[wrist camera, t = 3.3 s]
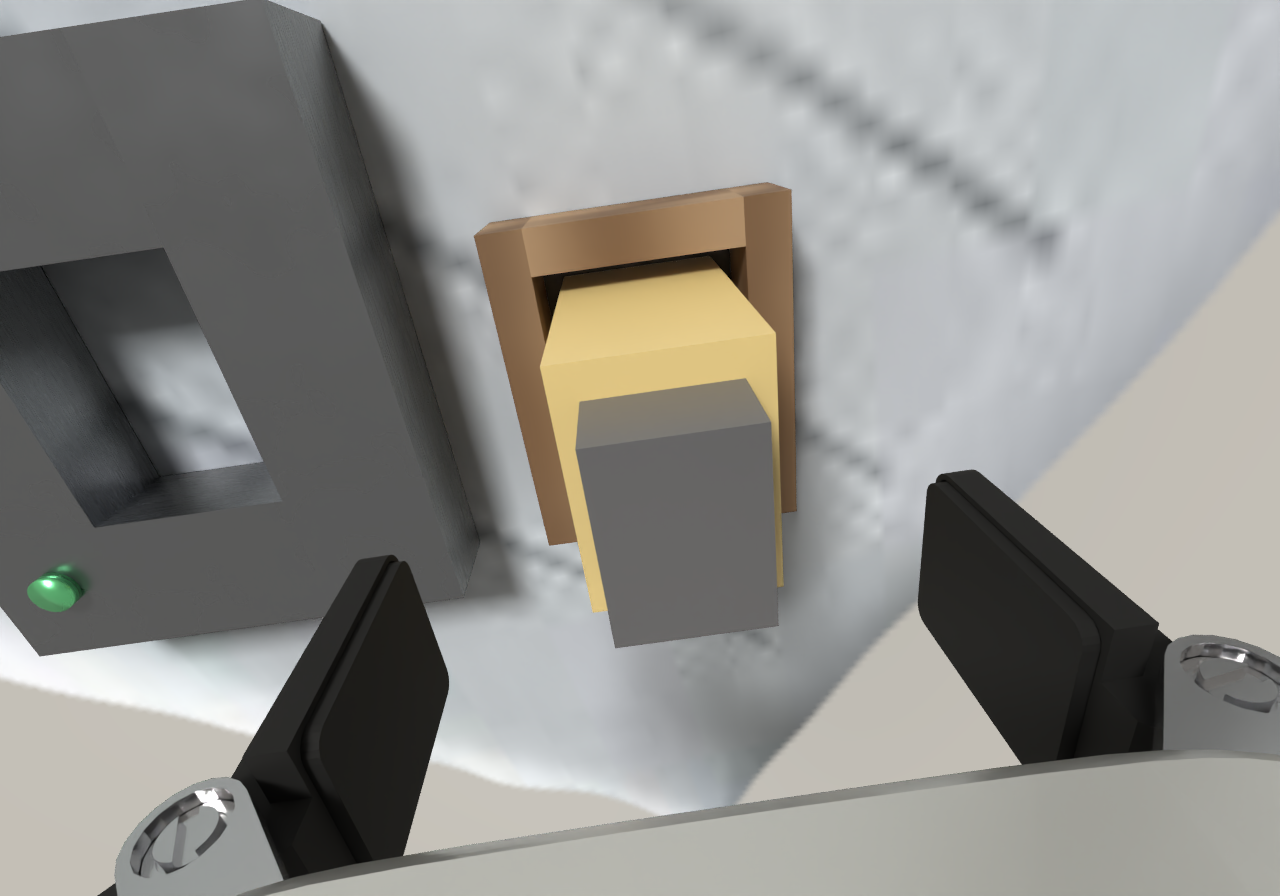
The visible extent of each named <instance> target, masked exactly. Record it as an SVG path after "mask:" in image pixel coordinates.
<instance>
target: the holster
mask: <svg viewBox="0 0 1280 896" xmlns="http://www.w3.org/2000/svg"><path fill="white" fill-rule="evenodd" d="M474 238H475V242H476V247H477V251H478V255H479V259H480V263H481V267H482V271H483V275H484V280H485V284H486V288H487V292H488V296H489V300H490V304H491V308H492V312H493V317H494V321H495V325H496V329H497V333H498V337H499V341H500V345H501V349H502V354H503V358H504V362H505V366H506V370H507V374H508V378H509V382H510V386H511V391H512V395H513V399H514V403H515V407H516V411H517V415H518V419H519V423H520V428H521V432H522V436H523V440H524V444H525V448H526V452H527V456H528V460H529V465H530V469H531V473H532V477H533V481H534V485H535V489H536V493H537V497H538V502H539V506H540V510H541V514H542V518H543V522H544V526H545V530H546V534H547V539H548V543H549V546H550V545H557V544H565V543H572V542H578V541H577V536H576V532H575V527H574V522H573V518H572V513H571V509H570V504H569V499H568V495H567V490H566V485H565V481H564V476H563V471H562V467H561V462H560V458H559V453H558V448H557V444H556V439H555V434H554V430H553V425H552V421H551V416H550V411H549V407H548V402H547V397H546V393H545V388H544V384H543V379H542V374H541V370H540V364H541V361H542V357H543V353H544V349H545V346H546V342H547V338H548V334H549V331H550V327H551V323H552V317H551V312H550V307H549V302H548V297H547V292H546V287H545V282H544V277H543V275H550V274H557V273H564V272H571V271H578V270H585V269H592V268H599V267H606V266H613V265H620V264H627V263H633V262H640V261H647V260H654V259H661V258H668V257H675V256H682V255H689V254H696V253H703V252H710V251H717V250H723V249H729V250H730V266H731V281H732V282H733V284H734V285H735V286H736V287H737V288H738V289H739V291H740V292H741V293H742V294H743V295H744V296H745V298H746V299H747V300H748V301H749V302H750V303H751V305H752V306H753V307H754V308H755V309H756V310H757V312H758V313H759V314H760V315H761V316H762V317H763V319H764V320H765V321H766V322H767V323H768V324H769V326H770V327H771V328H772V329H773V330H774V331H775V333H776V352H777V386H778V419H779V453H780V486H781V513H787V512H794V511H797V506H796V444H795V383H794V321H793V260H792V198H791V189H787V188H784V187H781V186H778V185H775V184H771V183H768V182H766V183H759V184H752V185H746V186H739V187H732V188H725V189H718V190H711V191H704V192H697V193H691V194H684V195H677V196H670V197H663V198H656V199H649V200H643V201H636V202H629V203H622V204H615V205H608V206H601V207H594V208H588V209H581V210H574V211H567V212H560V213H553V214H546V215H539V216H533V217H526V218H519V219H512V220H505V221H498V222H491V223H489V224H488V225H487V226H485V227H484V228H483V229H482V230H480V231H479V232H478V233H477V234H476V235H474Z"/></svg>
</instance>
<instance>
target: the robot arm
mask: <svg viewBox="0 0 1280 896" xmlns="http://www.w3.org/2000/svg"><path fill="white" fill-rule="evenodd" d="M918 608H919V613H920V616H921V618H922V620H923V622H924V624H925V625H926V627H927V628H928V630H929V631H930V633H931V634H932V635H933V637H934V638H935V640H936V641H937V643H938V644H939V646H940V647H941V649H942V650H943V651H944V653H945V654H946V656H947V657H948V659H949V660H950V661H951V663H952V664H953V666H954V667H955V669H956V670H957V672H958V673H959V674H960V676H961V677H962V679H963V680H964V682H965V683H966V685H967V686H968V688H969V689H970V690H971V692H972V693H973V695H974V696H975V697H976V699H977V700H978V702H979V703H980V705H981V706H982V708H983V709H984V711H985V712H986V713H987V715H988V716H989V718H990V719H991V721H992V722H993V724H994V725H995V726H996V728H997V729H998V731H999V732H1000V734H1001V735H1002V736H1003V738H1004V739H1005V741H1006V742H1007V743H1008V745H1009V747H1010V748H1011V749H1012V751H1013V752H1014V754H1015V755H1016V757H1017V758H1018V760H1019V761H1020V763H1021V764H1022V765H1017V766H1009V767H1000V768H993V769H986V770H979V771H971V772H964V773H958V774H950V775H943V776H936V777H929V778H922V779H914V780H907V781H900V782H893V783H886V784H878V785H871V786H864V787H857V788H850V789H844V790H836V791H829V792H822V793H815V794H809V795H801V796H794V797H787V798H780V799H773V800H767V801H760V802H753V803H746V804H739V805H732V806H725V807H718V808H712V809H705V810H698V811H691V812H684V813H678V814H671V815H664V816H657V817H650V818H644V819H637V820H630V821H623V822H617V823H611V824H604V825H597V826H591V827H584V828H578V829H571V830H564V831H558V832H551V833H545V834H538V835H532V836H525V837H518V838H512V839H505V840H498V841H492V842H485V843H479V844H472V845H466V846H460V847H454V848H448V849H442V850H435V851H430V852H424V853H418V854H412V855H406V856H403V854H404V850H405V847H406V844H407V840H408V836H409V833H410V829H411V825H412V822H413V818H414V814H415V811H416V807H417V804H418V800H419V796H420V793H421V789H422V785H423V782H424V778H425V775H426V771H427V767H428V764H429V760H430V756H431V753H432V749H433V746H434V742H435V738H436V735H437V731H438V727H439V724H440V720H441V716H442V713H443V709H444V706H445V702H446V698H447V695H448V690H449V676H448V671H447V668H446V665H445V663H444V660H443V657H442V654H441V652H440V649H439V646H438V643H437V641H436V638H435V635H434V632H433V630H432V627H431V624H430V621H429V619H428V616H427V613H426V610H425V607H424V605H423V602H422V599H421V596H420V594H419V591H418V588H417V585H416V583H415V580H414V577H413V574H412V572H411V569H410V567H409V564H408V563H407V562H406V561H400V562H399V561H398V559H397V558H396V556H394V555H385V556H378V557H371V558H364V559H360V560H358V561H357V563H356V564H355V566H354V567H353V569H352V571H351V572H350V574H349V576H348V578H347V579H346V581H345V583H344V584H343V586H342V588H341V589H340V591H339V593H338V595H337V596H336V598H335V600H334V601H333V603H332V605H331V607H330V608H329V610H328V612H327V613H326V615H325V617H324V619H323V620H322V622H321V624H320V625H319V627H318V629H317V630H316V632H315V634H314V636H313V637H312V639H311V641H310V642H309V644H308V646H307V648H306V649H305V651H304V653H303V654H302V656H301V658H300V659H299V661H298V663H297V665H296V666H295V668H294V670H293V671H292V673H291V675H290V677H289V678H288V680H287V682H286V683H285V685H284V687H283V688H282V690H281V692H280V694H279V695H278V697H277V699H276V700H275V702H274V704H273V706H272V707H271V709H270V711H269V712H268V714H267V716H266V718H265V719H264V721H263V723H262V724H261V726H260V728H259V729H258V731H257V733H256V735H255V736H254V738H253V740H252V742H251V743H250V745H249V747H248V748H247V750H246V752H245V753H244V755H243V757H242V760H241V762H240V763H239V765H238V767H237V769H236V771H235V772H234V774H233V775H232V777H231V778H229V777H222V778H211V779H208V780H205V781H202V782H199V783H196V784H193V785H191V786H189V787H187V788H185V789H184V790H182V791H180V792H178V793H176V794H174V795H173V796H171V797H170V798H169V799H167V800H166V801H165V802H163V803H162V804H160V805H159V806H157V807H156V808H155V809H154V810H153V811H152V812H151V813H150V814H149V815H148V816H146V817H145V818H144V819H143V820H142V821H141V822H140V823H139V824H138V825H137V827H136V828H135V829H134V831H133V832H132V833H131V835H130V836H129V837H128V838H127V840H126V841H125V842H124V845H123V847H122V849H121V851H120V853H119V855H118V857H117V859H116V867H115V881H116V883H115V884H113V885H112V886H111V887H109V888H108V889H107V890H105V891H104V892H102V893H101V894H100V895H98V896H1280V657H1278V656H1276V655H1274V654H1272V653H1270V652H1268V651H1266V650H1264V649H1262V648H1260V647H1257V646H1254V645H1251V644H1248V643H1245V642H1242V641H1239V640H1236V639H1231V638H1225V637H1219V636H1215V635H1190V636H1186V637H1181V638H1178V639H1176V640H1175V641H1173V642H1172V641H1171V640H1170V639H1169V638H1168V637H1166V636H1165V635H1164V634H1163V633H1162V632H1161V631H1159V630H1158V626H1159V623H1158V622H1157V621H1156V620H1154V619H1153V618H1152V617H1151V616H1150V615H1149V614H1148V613H1146V612H1145V611H1144V610H1143V609H1142V608H1140V607H1139V606H1138V605H1136V604H1135V603H1134V602H1133V601H1132V600H1131V599H1129V598H1128V597H1127V596H1126V595H1125V594H1124V593H1122V592H1121V591H1120V590H1119V589H1118V588H1117V587H1115V586H1114V585H1113V584H1112V583H1111V582H1109V581H1108V580H1107V579H1106V578H1105V577H1103V576H1102V575H1101V574H1100V573H1098V572H1097V571H1096V570H1095V569H1094V568H1093V567H1091V566H1090V565H1089V564H1088V563H1087V562H1086V561H1084V560H1083V559H1082V558H1081V557H1080V556H1078V555H1077V554H1076V553H1075V552H1073V551H1072V550H1071V549H1070V548H1069V547H1068V546H1066V545H1065V544H1064V543H1063V542H1061V541H1060V540H1059V539H1058V538H1057V537H1056V536H1054V535H1053V534H1052V533H1051V532H1050V531H1049V530H1047V529H1046V528H1045V527H1044V526H1043V525H1041V524H1040V523H1039V522H1038V521H1037V520H1035V519H1034V518H1033V517H1032V516H1031V515H1030V514H1028V513H1027V512H1026V511H1025V510H1024V509H1022V508H1021V507H1020V506H1019V505H1018V504H1016V503H1015V502H1014V501H1013V500H1012V499H1010V498H1009V497H1008V496H1007V495H1006V494H1004V493H1003V492H1002V491H1001V490H1000V489H999V488H997V487H996V486H995V485H994V484H993V483H991V482H990V481H989V480H988V479H987V478H985V477H984V476H983V475H982V474H981V473H979V472H978V471H976V470H965V471H959V472H952V473H945V474H941V475H939V476H938V478H937V479H936V483H932V484H930V485H929V486H928V489H927V496H926V508H925V521H924V533H923V545H922V557H921V569H920V581H919V594H918Z"/></svg>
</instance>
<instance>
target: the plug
mask: <svg viewBox="0 0 1280 896" xmlns="http://www.w3.org/2000/svg"><path fill="white" fill-rule="evenodd" d="M540 370H541V374H542V379H543V384H544V388H545V393H546V397H547V402H548V407H549V411H550V416H551V421H552V425H553V430H554V434H555V439H556V444H557V448H558V453H559V458H560V462H561V467H562V471H563V476H564V481H565V485H566V490H567V495H568V499H569V504H570V509H571V513H572V518H573V522H574V527H575V532H576V536H577V541H578V546H579V550H580V555H581V559H582V564H583V569H584V573H585V578H586V583H587V587H588V592H589V596H590V601H591V606H592V610H593V613H594V612H601V611H608V614H609V619H610V624H611V629H612V634H613V639H614V644H615V648H620V647H628V646H635V645H642V644H650V643H657V642H664V641H672V640H679V639H686V638H694V637H701V636H708V635H715V634H723V633H730V632H737V631H745V630H752V629H759V628H767V627H774V626H779V625H778V597H777V587H783V553H782V520H781V486H780V453H779V419H778V386H777V352H776V333H775V331H774V330H773V329H772V328H771V327H770V326H769V324H768V323H767V322H766V321H765V320H764V319H763V317H762V316H761V315H760V314H759V313H758V312H757V310H756V309H755V308H754V307H753V306H752V305H751V303H750V302H749V301H748V300H747V299H746V298H745V296H744V295H743V294H742V293H741V292H740V291H739V289H738V288H737V287H736V286H735V285H734V284H733V282H732V281H731V280H730V279H729V278H728V277H727V275H726V274H725V273H724V272H723V271H722V270H721V268H720V267H719V266H718V265H717V264H716V263H715V261H714V260H713V259H712V258H711V257H710V256H704V257H697V258H690V259H683V260H676V261H669V262H662V263H655V264H648V265H641V266H634V267H627V268H621V269H614V270H607V271H600V272H593V273H586V274H579V275H572V276H565V277H564V278H563V282H562V286H561V290H560V293H559V297H558V301H557V305H556V308H555V312H554V316H553V320H552V323H551V327H550V331H549V334H548V338H547V342H546V346H545V349H544V353H543V357H542V361H541V364H540Z"/></svg>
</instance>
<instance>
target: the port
mask: <svg viewBox="0 0 1280 896" xmlns="http://www.w3.org/2000/svg"><path fill="white" fill-rule="evenodd" d="M157 248H164V250H165V252H166V254H167V256H168V258H169V260H170V263H171V265H172V267H173V269H174V271H175V273H176V275H177V277H178V280H179V282H180V284H181V286H182V288H183V290H184V292H185V295H186V297H187V299H188V301H189V303H190V305H191V307H192V310H193V312H194V314H195V316H196V318H197V320H198V322H199V324H200V327H201V329H202V331H203V333H204V335H205V337H206V339H207V342H208V344H209V346H210V348H211V350H212V352H213V354H214V356H215V359H216V361H217V363H218V365H219V367H220V369H221V371H222V374H223V376H224V378H225V380H226V382H227V384H228V386H229V388H230V391H231V393H232V395H233V397H234V399H235V401H236V403H237V406H238V408H239V410H240V412H241V414H242V416H243V418H244V420H245V423H246V425H247V427H248V429H249V431H250V433H251V435H252V438H253V440H254V442H255V444H256V446H257V448H258V450H259V453H260V455H261V457H262V459H263V461H264V462H261V463H254V464H247V465H240V466H233V467H226V468H219V469H212V470H205V471H198V472H190V473H183V474H176V475H169V476H162V477H159V476H158V474H157V472H156V470H155V468H154V467H153V465H152V463H151V461H150V460H149V458H148V456H147V454H146V452H145V451H144V449H143V447H142V445H141V444H140V442H139V440H138V438H137V437H136V435H135V433H134V431H133V429H132V428H131V426H130V424H129V422H128V421H127V419H126V417H125V415H124V414H123V412H122V410H121V408H120V406H119V405H118V403H117V401H116V399H115V398H114V396H113V394H112V392H111V391H110V389H109V387H108V385H107V383H106V382H105V380H104V378H103V376H102V375H101V373H100V371H99V369H98V367H97V366H96V364H95V362H94V360H93V359H92V357H91V355H90V353H89V352H88V350H87V348H86V346H85V344H84V343H83V341H82V339H81V337H80V336H79V334H78V332H77V330H76V329H75V327H74V325H73V323H72V321H71V320H70V318H69V316H68V314H67V313H66V311H65V309H64V307H63V305H62V304H61V302H60V300H59V298H58V297H57V295H56V293H55V291H54V290H53V288H52V286H51V284H50V282H49V281H48V279H47V277H46V275H45V274H44V272H43V270H42V268H41V267H40V266H41V265H48V264H55V263H61V262H68V261H75V260H82V259H89V258H96V257H102V256H109V255H116V254H123V253H130V252H137V251H144V250H150V249H157ZM479 544H480V541H479V538H478V535H477V532H476V528H475V525H474V522H473V518H472V515H471V512H470V509H469V505H468V502H467V499H466V496H465V492H464V489H463V486H462V483H461V479H460V476H459V473H458V469H457V466H456V463H455V460H454V456H453V453H452V450H451V447H450V443H449V440H448V437H447V433H446V430H445V427H444V424H443V420H442V417H441V414H440V411H439V407H438V404H437V401H436V397H435V394H434V391H433V388H432V384H431V381H430V378H429V375H428V371H427V368H426V365H425V362H424V358H423V355H422V352H421V348H420V345H419V342H418V339H417V335H416V332H415V329H414V326H413V322H412V319H411V316H410V312H409V309H408V306H407V303H406V299H405V296H404V293H403V290H402V286H401V283H400V280H399V277H398V273H397V270H396V267H395V263H394V260H393V257H392V254H391V250H390V247H389V244H388V241H387V237H386V234H385V231H384V227H383V224H382V221H381V218H380V214H379V211H378V208H377V205H376V201H375V198H374V195H373V192H372V188H371V185H370V182H369V178H368V175H367V172H366V169H365V165H364V162H363V159H362V156H361V152H360V149H359V146H358V142H357V139H356V136H355V133H354V129H353V126H352V123H351V120H350V116H349V113H348V110H347V106H346V103H345V100H344V97H343V93H342V90H341V87H340V84H339V80H338V77H337V74H336V71H335V67H334V64H333V61H332V57H331V54H330V51H329V48H328V44H327V41H326V38H325V35H324V31H323V28H322V25H321V21H319V20H317V19H314V18H312V17H309V16H306V15H304V14H301V13H299V12H296V11H294V10H291V9H288V8H286V7H283V6H281V5H278V4H276V3H273V2H271V1H268V0H243V1H237V2H230V3H224V4H217V5H210V6H204V7H197V8H190V9H184V10H177V11H170V12H164V13H157V14H150V15H144V16H137V17H130V18H124V19H117V20H110V21H104V22H97V23H91V24H84V25H77V26H71V27H64V28H57V29H51V30H44V31H37V32H31V33H24V34H17V35H11V36H4V37H0V607H1V608H2V609H3V610H4V612H5V613H6V614H7V616H8V617H9V618H10V619H11V621H12V622H13V623H14V624H15V626H16V627H17V628H18V629H19V631H20V632H21V633H22V634H23V636H24V637H25V638H26V640H27V641H28V642H29V643H30V645H31V646H32V647H33V648H34V650H35V651H36V652H37V653H38V655H39V656H46V655H53V654H60V653H68V652H75V651H82V650H89V649H96V648H104V647H111V646H118V645H125V644H133V643H140V642H147V641H154V640H161V639H169V638H176V637H183V636H190V635H197V634H205V633H212V632H219V631H226V630H233V629H241V628H248V627H255V626H262V625H270V624H277V623H284V622H291V621H298V620H306V619H313V618H320V617H325V615H326V613H327V612H328V610H329V608H330V607H331V605H332V603H333V601H334V600H335V598H336V596H337V595H338V593H339V591H340V589H341V588H342V586H343V584H344V583H345V581H346V579H347V578H348V576H349V574H350V572H351V571H352V569H353V567H354V566H355V564H356V563H357V561H358V560H360V559H364V558H371V557H378V556H385V555H394V556H396V558H397V559H398V561H399V562H400V561H406V562H407V563H408V564H409V567H410V569H411V572H412V574H413V577H414V580H415V583H416V585H417V588H418V591H419V594H420V596H421V599H422V602H423V603H428V602H435V601H443V600H450V599H457V598H464V595H465V591H466V588H467V585H468V581H469V578H470V574H471V571H472V568H473V564H474V561H475V558H476V554H477V551H478V548H479Z"/></svg>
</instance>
